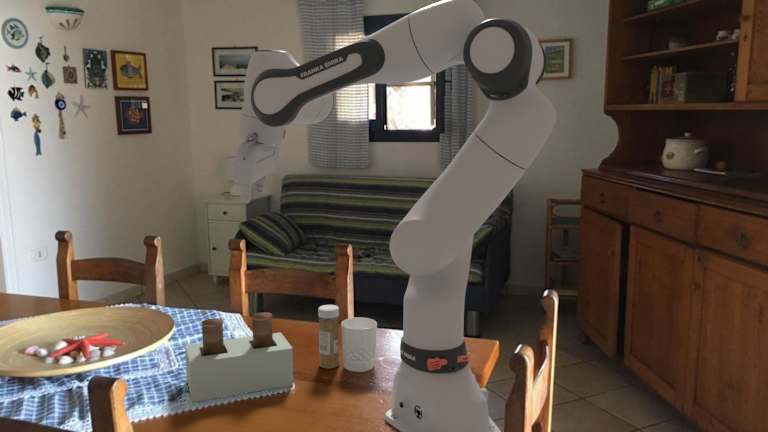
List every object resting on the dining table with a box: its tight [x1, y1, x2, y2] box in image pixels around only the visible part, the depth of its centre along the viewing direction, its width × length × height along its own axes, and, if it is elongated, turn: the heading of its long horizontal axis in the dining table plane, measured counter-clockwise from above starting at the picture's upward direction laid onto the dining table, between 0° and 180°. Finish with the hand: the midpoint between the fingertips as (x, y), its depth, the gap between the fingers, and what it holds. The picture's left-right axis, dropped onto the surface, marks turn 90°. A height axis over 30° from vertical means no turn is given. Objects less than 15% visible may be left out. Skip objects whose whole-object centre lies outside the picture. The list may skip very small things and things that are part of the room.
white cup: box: [340, 316, 378, 373], centre depth 134 cm, size 8×8×10 cm
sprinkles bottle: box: [317, 304, 340, 369], centre depth 134 cm, size 5×5×14 cm
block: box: [184, 331, 294, 403], centre depth 125 cm, size 10×20×8 cm, turn 113°
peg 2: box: [251, 311, 273, 349], centre depth 126 cm, size 4×4×7 cm
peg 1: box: [201, 317, 224, 356], centre depth 122 cm, size 4×4×7 cm
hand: (251, 197), depth 125 cm, fingers open, 8 cm apart
